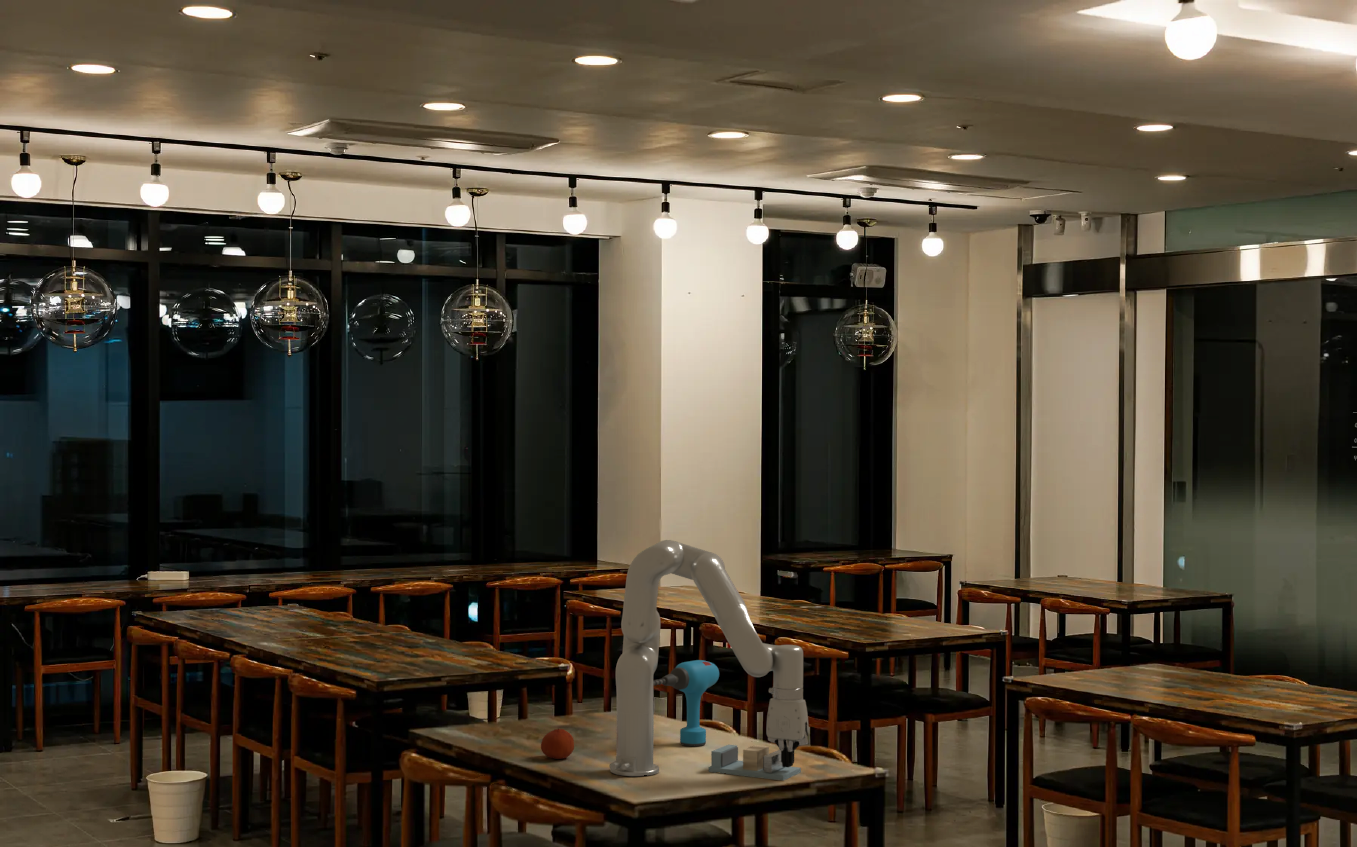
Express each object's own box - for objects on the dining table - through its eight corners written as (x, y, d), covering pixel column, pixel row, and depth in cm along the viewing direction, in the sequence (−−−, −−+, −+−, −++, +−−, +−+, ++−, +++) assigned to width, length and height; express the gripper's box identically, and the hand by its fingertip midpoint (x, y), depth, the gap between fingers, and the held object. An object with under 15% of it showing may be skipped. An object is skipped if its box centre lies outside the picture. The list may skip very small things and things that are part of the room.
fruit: (554, 753, 430) (555, 724, 430) (580, 757, 425) (580, 727, 425) (533, 759, 423) (533, 728, 423) (559, 763, 418) (559, 732, 418)
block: (757, 770, 405) (757, 751, 405) (743, 769, 407) (743, 749, 407) (768, 765, 411) (769, 746, 411) (755, 764, 413) (755, 744, 413)
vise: (783, 780, 399) (783, 759, 399) (708, 771, 409) (708, 751, 409) (800, 772, 409) (800, 751, 409) (727, 763, 419) (727, 743, 419)
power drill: (660, 756, 427) (660, 670, 427) (636, 752, 432) (637, 666, 433) (726, 741, 448) (727, 659, 448) (703, 737, 454) (703, 655, 454)
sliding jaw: (771, 772, 401) (771, 756, 401) (762, 771, 402) (762, 755, 402) (787, 765, 410) (787, 749, 410) (778, 764, 411) (778, 748, 411)
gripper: (755, 693, 405) (754, 765, 405) (809, 698, 398) (808, 772, 398) (767, 689, 411) (767, 760, 411) (821, 694, 404) (820, 766, 404)
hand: (787, 765), depth 405 cm, fingers closed
